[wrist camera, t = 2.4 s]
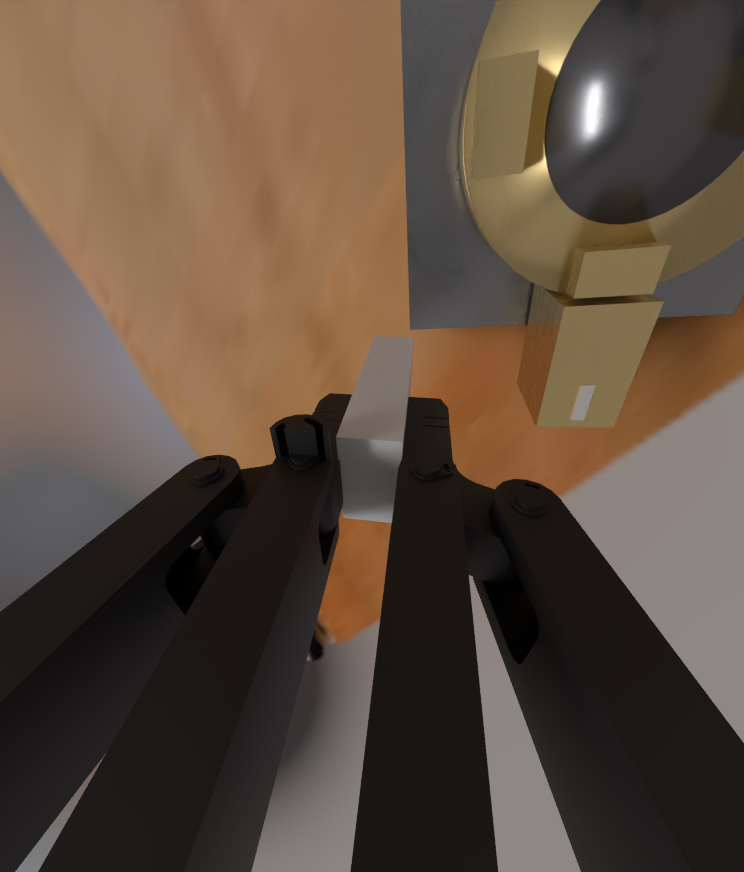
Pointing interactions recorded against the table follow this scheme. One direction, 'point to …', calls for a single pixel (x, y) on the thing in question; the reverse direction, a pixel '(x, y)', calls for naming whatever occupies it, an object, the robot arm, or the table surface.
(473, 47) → the housing
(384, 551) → the table surface
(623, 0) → the brass ring with ball
